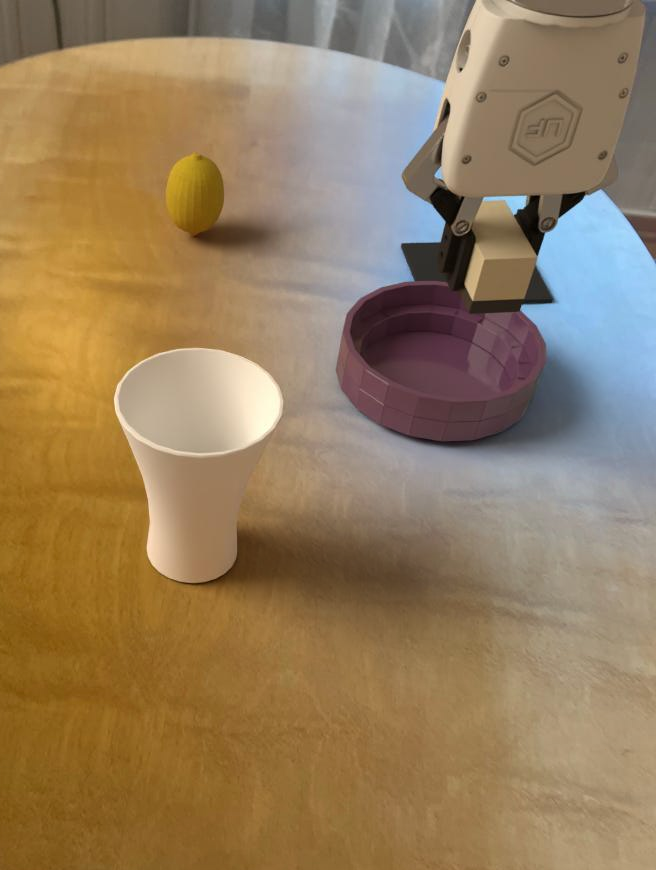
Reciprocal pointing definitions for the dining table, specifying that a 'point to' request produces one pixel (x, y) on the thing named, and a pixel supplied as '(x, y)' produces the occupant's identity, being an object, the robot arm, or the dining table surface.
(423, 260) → the mat
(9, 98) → the dining table surface
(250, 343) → the dining table surface
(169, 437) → the cup
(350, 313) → the bowl
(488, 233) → the eraser
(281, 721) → the dining table surface
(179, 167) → the lemon
